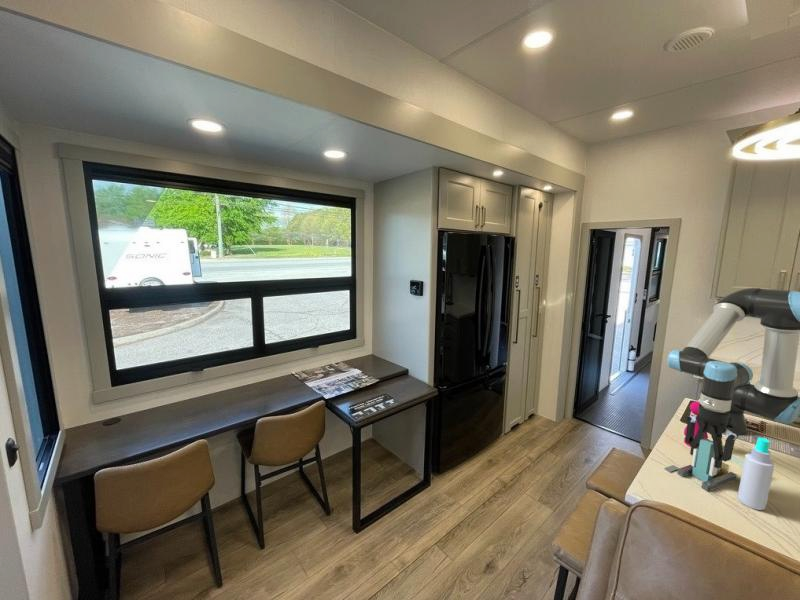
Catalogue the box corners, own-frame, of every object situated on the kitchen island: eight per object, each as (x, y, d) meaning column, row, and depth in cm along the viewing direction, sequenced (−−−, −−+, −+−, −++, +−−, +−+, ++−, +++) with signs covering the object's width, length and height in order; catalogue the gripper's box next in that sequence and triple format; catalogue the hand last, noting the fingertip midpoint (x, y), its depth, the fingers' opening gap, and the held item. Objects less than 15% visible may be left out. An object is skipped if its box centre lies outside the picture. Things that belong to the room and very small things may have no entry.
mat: (673, 465, 120) (673, 464, 120) (679, 469, 118) (679, 468, 118) (664, 468, 118) (664, 468, 118) (670, 472, 116) (670, 471, 116)
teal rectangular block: (707, 483, 111) (713, 446, 108) (691, 474, 115) (697, 438, 112) (712, 481, 112) (719, 444, 109) (697, 472, 116) (703, 437, 113)
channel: (705, 464, 121) (706, 459, 120) (736, 479, 113) (737, 474, 112) (677, 473, 116) (677, 468, 115) (707, 491, 107) (708, 486, 107)
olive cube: (713, 468, 119) (715, 458, 118) (727, 475, 115) (729, 465, 114) (706, 470, 117) (708, 460, 117) (720, 478, 114) (722, 468, 113)
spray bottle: (771, 510, 100) (785, 445, 96) (753, 511, 99) (766, 446, 96) (748, 495, 106) (761, 433, 102) (731, 496, 105) (743, 434, 101)
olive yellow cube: (705, 471, 117) (706, 461, 116) (718, 478, 113) (720, 468, 113) (698, 473, 116) (699, 463, 115) (711, 481, 112) (713, 471, 111)
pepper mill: (710, 451, 128) (718, 404, 125) (689, 448, 130) (697, 402, 126) (698, 440, 135) (705, 395, 132) (678, 438, 137) (685, 394, 133)
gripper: (677, 397, 116) (668, 456, 120) (741, 422, 100) (728, 490, 103) (691, 394, 118) (681, 452, 122) (755, 418, 102) (742, 484, 106)
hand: (703, 469), depth 113 cm, fingers closed on teal rectangular block, 4 cm apart
